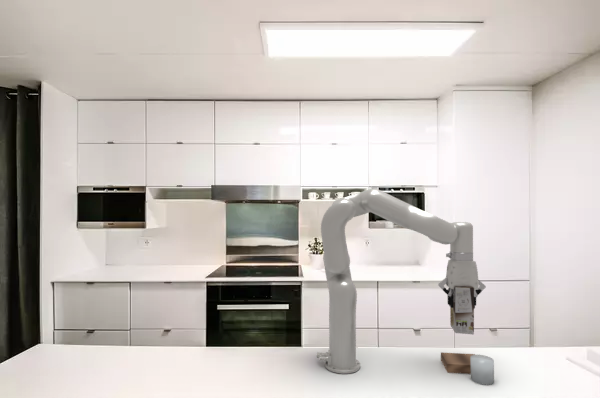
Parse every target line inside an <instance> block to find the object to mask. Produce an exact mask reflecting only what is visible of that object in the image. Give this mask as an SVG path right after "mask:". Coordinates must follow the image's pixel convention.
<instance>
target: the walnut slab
mask: <svg viewBox="0 0 600 398" xmlns="http://www.w3.org/2000/svg"><path fill="white" fill-rule="evenodd" d="M472 355H476V354H475V353H461V352H459V353H458V352H457V353H456V352H442V351H441V352H440V362H441V363H442V365H443V367H444V369H445V371H446V372H447V373H449V374H463V375H464V374H466V375H471V356H472Z"/></svg>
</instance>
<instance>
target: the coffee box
mask: <svg viewBox="0 0 600 398" xmlns="http://www.w3.org/2000/svg"><path fill="white" fill-rule="evenodd" d="M452 296H453V308H451V307H450V306H449V308H450V309H449V310H450V318H449V320H450V327H451V328H452V330H453V331H454V333H455V334H462V335H463V334H465V335H474V334H475V333H474V332H475V309H474V287H471V286H454V290H453V294H452Z"/></svg>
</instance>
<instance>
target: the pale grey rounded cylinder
mask: <svg viewBox="0 0 600 398" xmlns="http://www.w3.org/2000/svg"><path fill="white" fill-rule="evenodd" d="M470 380H471V381H472V382H473V383H475V384H478V385H482V386H492V385H494V384H495V360H494V358H492V357H491V356H488V355H484V354H475V355H472V356H471V374H470Z"/></svg>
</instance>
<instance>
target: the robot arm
mask: <svg viewBox="0 0 600 398" xmlns="http://www.w3.org/2000/svg"><path fill="white" fill-rule="evenodd" d="M369 213H372V214H374V215H375V216H378V217H380V218H382V219H384V220H386V221H388V222H390V223H392V224H395V225H397V226H399V227H402V228H404V229H407V230H411V231H414V232H416V233H418V234H420V235H423V236H426V237H428V239H429V240H430V241H432V242H435V243H439V244H441V245H449V253H445V258H449V259H448V261H447V266H446V271H445V272H446V274H445V278H443V279H442V280H441V281H440V282H438V285H437V286H438V287H439V288H440V289H441V290H442V291H443V292H444V293H445V294H446V295H447V305H448V306H449V308H450V307H451V308H453V296H452V294H453V290H454V286H471V287H474V310H475V308H476V306H477V298H478V296H479V295H480V294H481V293H482V291H484V289H486V285H485V284H484V283H483V282H482V281H481V280H480V279H479V273H478V272H479V271H478V267H477V266H478V265H477V261H475V260H474V225H473V224H472V223H470V222H466V221H455V222H449V221H446V220H445V219H443V218H440V217H438V216H436V215H434V214H431V213H430V212H428V211H425V210H422V209H420V208H418V207H417V206H414V205H412V204H410V203H408V202H406V201H404V200H401V199H400V198H397V197H395V196H393V195H391V194H389V193H386V192H384V191H382V190H380V189H377V188H371V189H366V190H364V191H361V192H357V193H353V194H351V195H347V196H343V197H341V198H338V199H335V200H334V201H333V202H332V204H331V205H330V206H329V207H328V208H327V210H326V211H325V213H324V214H323V217H322V219H321V223H320V233H321V234H320V235H321V242H322V247H323V248H322V249H323V257H322V259H323V260H322V261H323V265H324V266H323V267H324V272H325V277H326V284H327V288H328V289H327V290H328V298H329V303H328V305H329V307H328V308H329V309H328V317H329V318H328V323H329V324H328V333H329V334H328V341H329V342H328V343H329V344H328V345H329V346H328V351H326V352H320V351H319V352H318V351H317V353H316V359H319V361H324V366H325V369H327V370H328V371H330V372H332V373H336V374H342V375H343V374H344V375H346V374H352V373H353V374H354V373H356V372H358V371H359V370H360V369H361V362H360V361H359V360H358V359H357V321H356V320H357V301H358V300H357V298H358V296H357V295H358V293H357V288H356V284H355V283H354V281H353V280H352V274H351V269H350V265H351V257H350V254H349V249H348V246H347V239H346V238H347V237H346V226H347V224H348V222H350V221H351V220H352V219H353V218H356V217H359V216H363V215H365V214H369ZM445 285H446V287H448V289H447V288H446V287H445Z"/></svg>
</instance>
